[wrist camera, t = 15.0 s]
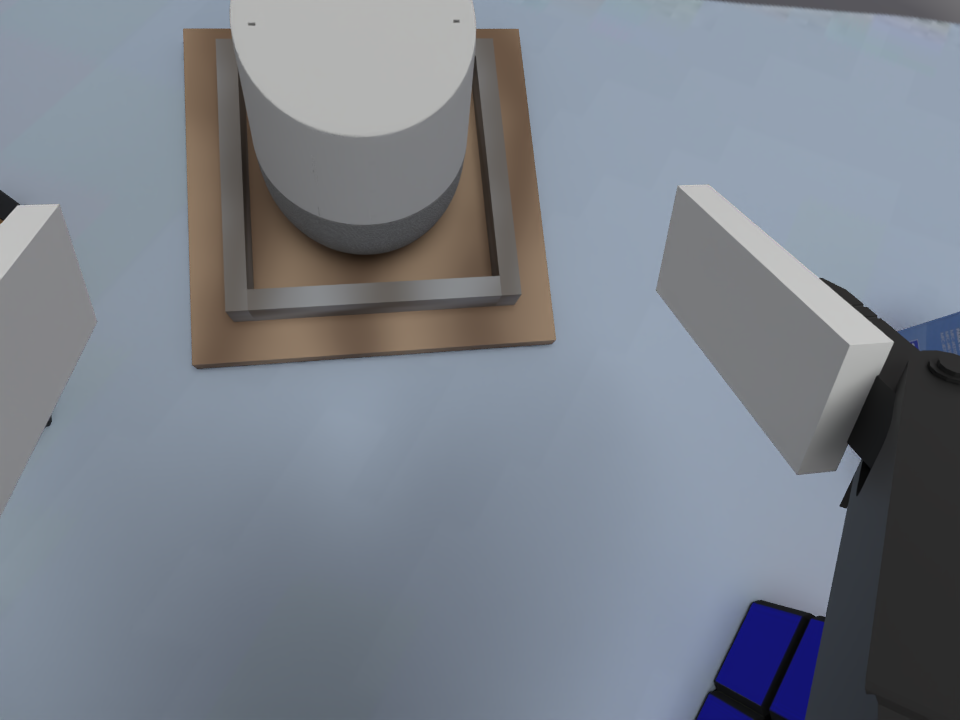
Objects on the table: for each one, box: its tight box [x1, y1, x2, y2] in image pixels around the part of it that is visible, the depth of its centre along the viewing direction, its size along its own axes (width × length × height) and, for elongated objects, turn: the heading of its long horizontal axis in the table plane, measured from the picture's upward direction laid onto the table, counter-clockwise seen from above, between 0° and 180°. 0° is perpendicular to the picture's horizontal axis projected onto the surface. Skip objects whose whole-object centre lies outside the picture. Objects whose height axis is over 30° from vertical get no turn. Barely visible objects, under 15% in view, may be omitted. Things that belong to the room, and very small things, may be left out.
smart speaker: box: [230, 0, 476, 255], centre depth 30 cm, size 10×9×14 cm
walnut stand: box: [183, 29, 556, 369], centre depth 36 cm, size 18×18×3 cm
